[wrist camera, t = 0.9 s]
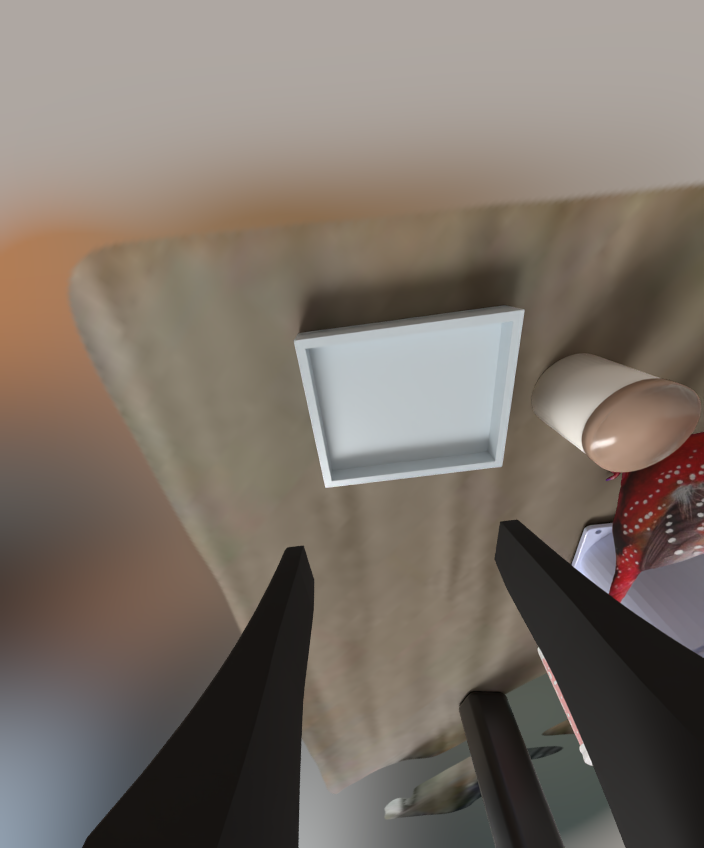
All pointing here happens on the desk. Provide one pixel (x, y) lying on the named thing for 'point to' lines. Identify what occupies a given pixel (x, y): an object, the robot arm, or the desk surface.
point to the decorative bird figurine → (659, 514)
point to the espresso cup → (615, 411)
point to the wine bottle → (506, 775)
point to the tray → (411, 394)
